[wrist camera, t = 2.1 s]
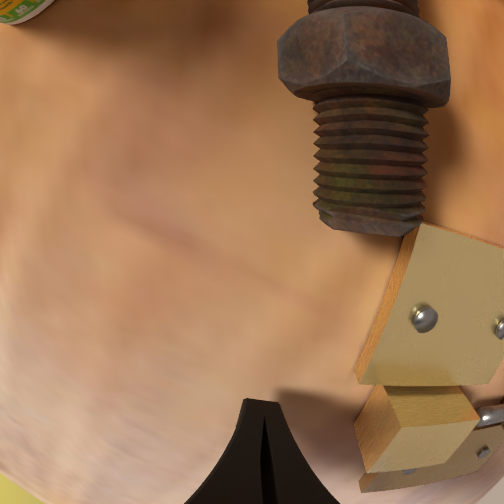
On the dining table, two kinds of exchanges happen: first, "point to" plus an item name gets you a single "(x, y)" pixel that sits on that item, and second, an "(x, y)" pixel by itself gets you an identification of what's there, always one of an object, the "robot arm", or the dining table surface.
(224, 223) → the dining table surface
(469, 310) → the loose leaf
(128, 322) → the dining table surface
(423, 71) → the bolt
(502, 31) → the dining table surface
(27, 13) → the supplement bottle
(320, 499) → the robot arm
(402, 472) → the fixed leaf
